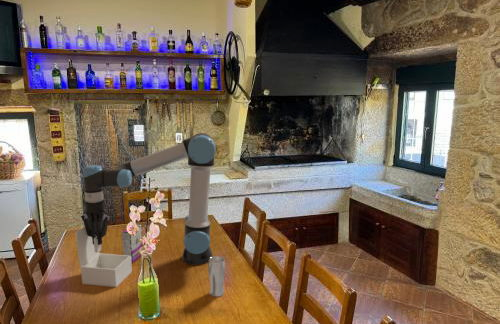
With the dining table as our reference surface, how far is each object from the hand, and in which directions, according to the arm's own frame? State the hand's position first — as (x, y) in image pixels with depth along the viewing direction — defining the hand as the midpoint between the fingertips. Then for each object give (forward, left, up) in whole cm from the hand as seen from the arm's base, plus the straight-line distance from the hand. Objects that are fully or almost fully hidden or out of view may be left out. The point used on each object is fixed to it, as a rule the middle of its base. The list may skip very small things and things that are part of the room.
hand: (97, 251), depth 156 cm
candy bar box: (-6, -20, -13) cm, 25 cm away
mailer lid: (+4, 0, +3) cm, 6 cm away
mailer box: (-4, 0, -13) cm, 13 cm away
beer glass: (-56, +4, -13) cm, 58 cm away
